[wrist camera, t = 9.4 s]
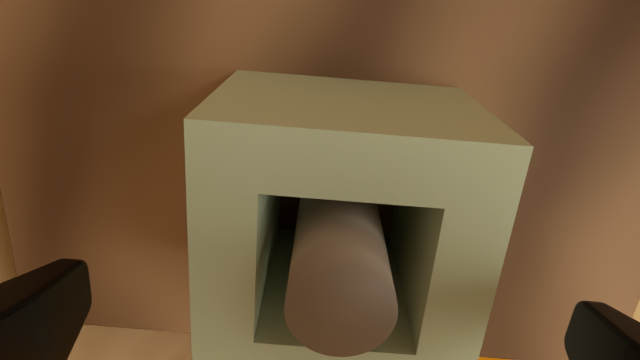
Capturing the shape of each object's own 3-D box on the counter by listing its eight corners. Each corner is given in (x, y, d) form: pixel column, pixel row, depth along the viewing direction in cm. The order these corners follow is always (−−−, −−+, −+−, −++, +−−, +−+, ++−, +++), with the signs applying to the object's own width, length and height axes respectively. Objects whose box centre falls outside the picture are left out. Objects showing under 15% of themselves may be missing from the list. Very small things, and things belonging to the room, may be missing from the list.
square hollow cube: (460, 87, 13) (533, 146, 8) (424, 276, 15) (466, 406, 10) (237, 70, 13) (183, 118, 8) (235, 261, 15) (192, 385, 10)
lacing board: (719, -10, 13) (1158, -2, 6) (589, 337, 18) (756, 566, 11) (-10, -76, 13) (-409, -145, 6) (49, 292, 17) (-137, 496, 10)
